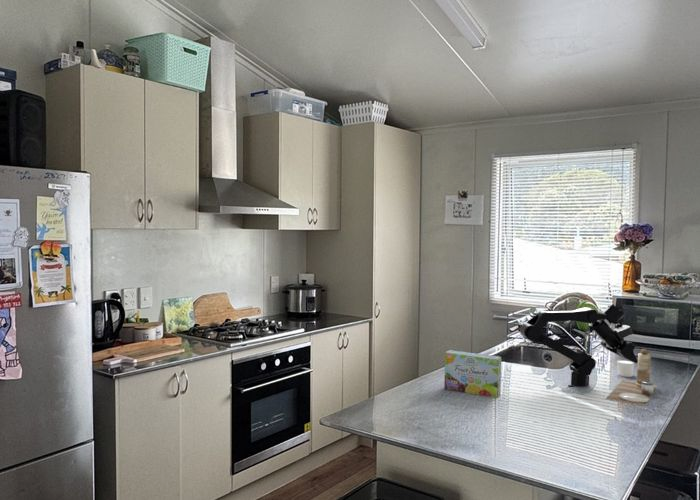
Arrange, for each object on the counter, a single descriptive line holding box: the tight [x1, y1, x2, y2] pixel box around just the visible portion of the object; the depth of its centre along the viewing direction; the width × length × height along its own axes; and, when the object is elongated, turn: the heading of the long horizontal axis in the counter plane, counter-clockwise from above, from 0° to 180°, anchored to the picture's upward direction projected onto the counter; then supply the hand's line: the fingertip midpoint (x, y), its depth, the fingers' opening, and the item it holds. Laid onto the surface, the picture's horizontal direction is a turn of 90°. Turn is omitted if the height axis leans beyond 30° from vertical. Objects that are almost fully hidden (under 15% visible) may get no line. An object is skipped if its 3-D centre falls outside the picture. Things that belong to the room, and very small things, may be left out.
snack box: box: [443, 349, 502, 399], centre depth 225 cm, size 21×6×15 cm, turn 62°
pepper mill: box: [636, 348, 652, 387], centre depth 235 cm, size 5×5×15 cm
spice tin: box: [641, 381, 655, 396], centre depth 225 cm, size 4×4×4 cm
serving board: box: [605, 380, 657, 407], centre depth 226 cm, size 34×13×1 cm, turn 145°
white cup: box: [616, 359, 635, 378], centre depth 253 cm, size 7×7×7 cm
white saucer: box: [619, 393, 650, 403], centre depth 218 cm, size 10×10×1 cm
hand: (631, 359), depth 235 cm, fingers open, 9 cm apart
